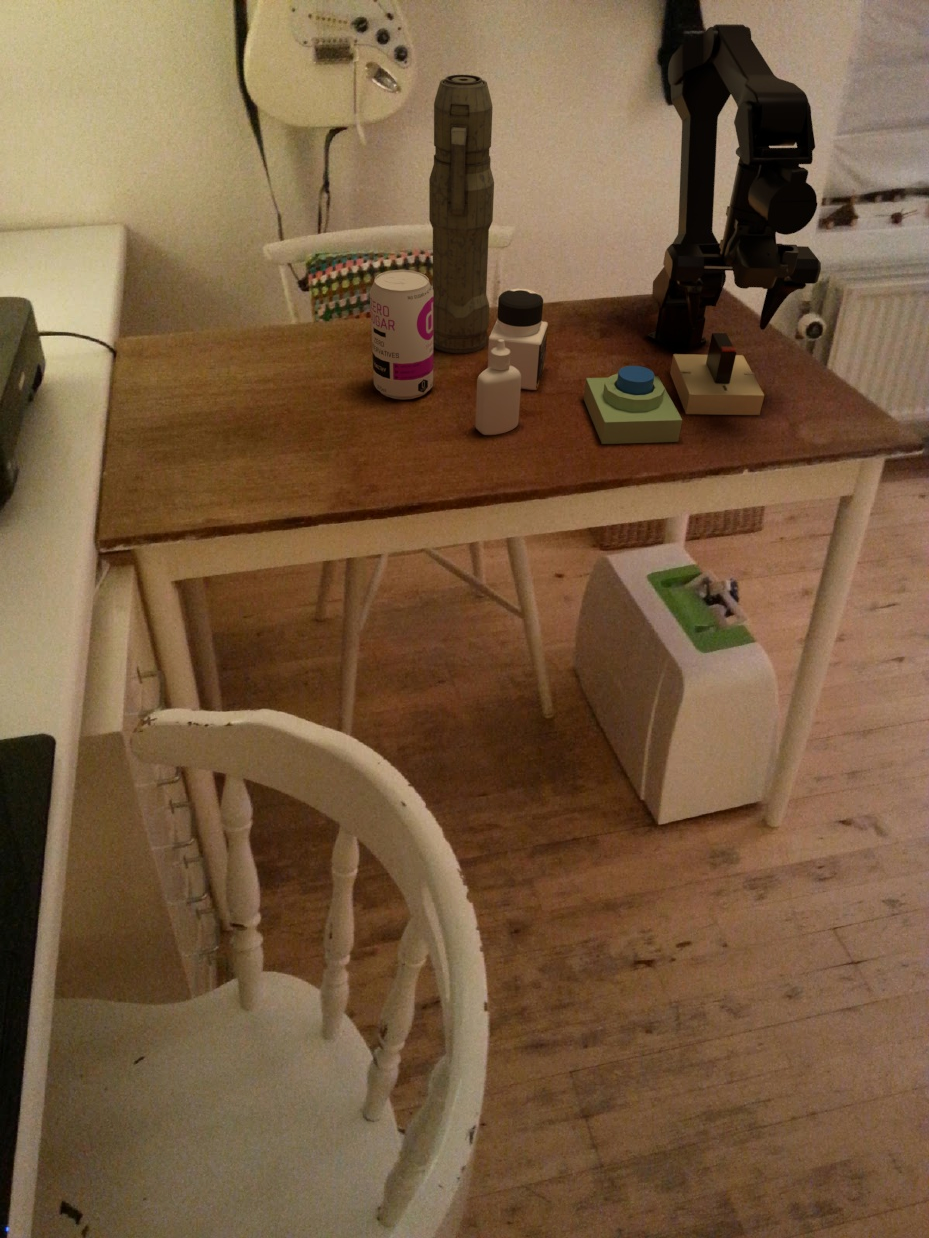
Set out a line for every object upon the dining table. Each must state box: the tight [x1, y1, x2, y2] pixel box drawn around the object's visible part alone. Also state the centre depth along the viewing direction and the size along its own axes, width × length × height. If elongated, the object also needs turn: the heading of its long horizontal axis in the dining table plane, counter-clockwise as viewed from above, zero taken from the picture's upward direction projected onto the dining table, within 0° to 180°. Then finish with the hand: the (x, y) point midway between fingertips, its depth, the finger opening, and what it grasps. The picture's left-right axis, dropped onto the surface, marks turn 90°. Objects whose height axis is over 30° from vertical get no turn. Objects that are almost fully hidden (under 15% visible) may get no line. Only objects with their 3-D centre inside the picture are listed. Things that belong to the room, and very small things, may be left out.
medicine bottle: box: [487, 288, 549, 391], centre depth 131 cm, size 7×7×12 cm
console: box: [669, 353, 765, 416], centre depth 131 cm, size 12×10×3 cm
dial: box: [706, 332, 737, 384], centre depth 129 cm, size 6×2×5 cm, turn 1°
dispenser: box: [583, 373, 683, 445], centre depth 124 cm, size 12×10×5 cm
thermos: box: [428, 74, 495, 354], centre depth 132 cm, size 9×12×35 cm
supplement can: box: [369, 269, 434, 400], centre depth 126 cm, size 8×8×15 cm
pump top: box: [616, 365, 655, 395], centre depth 122 cm, size 5×5×2 cm
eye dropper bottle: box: [474, 339, 522, 436], centre depth 120 cm, size 4×6×12 cm
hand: (727, 328), depth 126 cm, fingers open, 9 cm apart
